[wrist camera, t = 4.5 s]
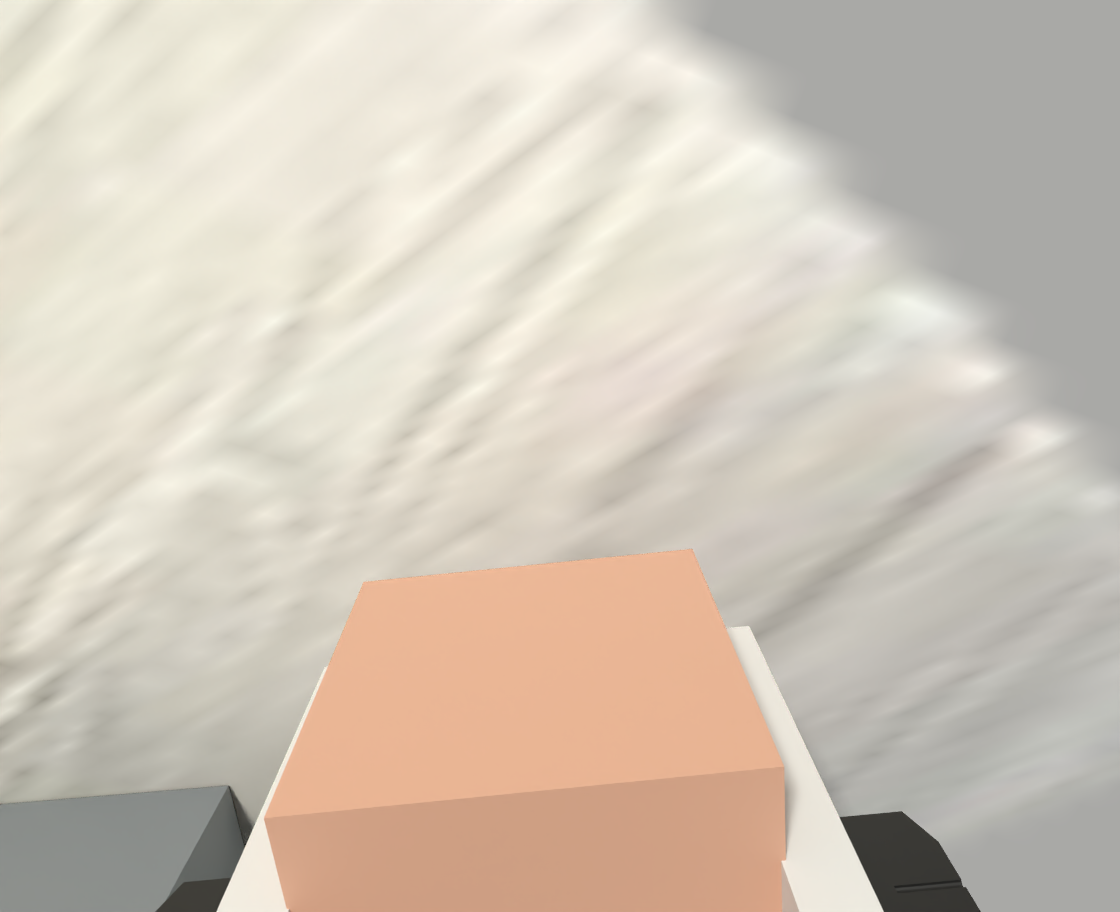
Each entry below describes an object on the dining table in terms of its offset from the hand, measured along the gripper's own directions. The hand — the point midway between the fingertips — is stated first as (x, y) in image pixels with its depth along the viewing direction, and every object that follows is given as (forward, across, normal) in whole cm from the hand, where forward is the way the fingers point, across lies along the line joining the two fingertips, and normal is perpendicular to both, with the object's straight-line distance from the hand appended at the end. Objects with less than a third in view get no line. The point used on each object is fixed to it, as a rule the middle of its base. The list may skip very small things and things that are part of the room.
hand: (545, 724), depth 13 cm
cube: (0, 0, 0) cm, 0 cm away
